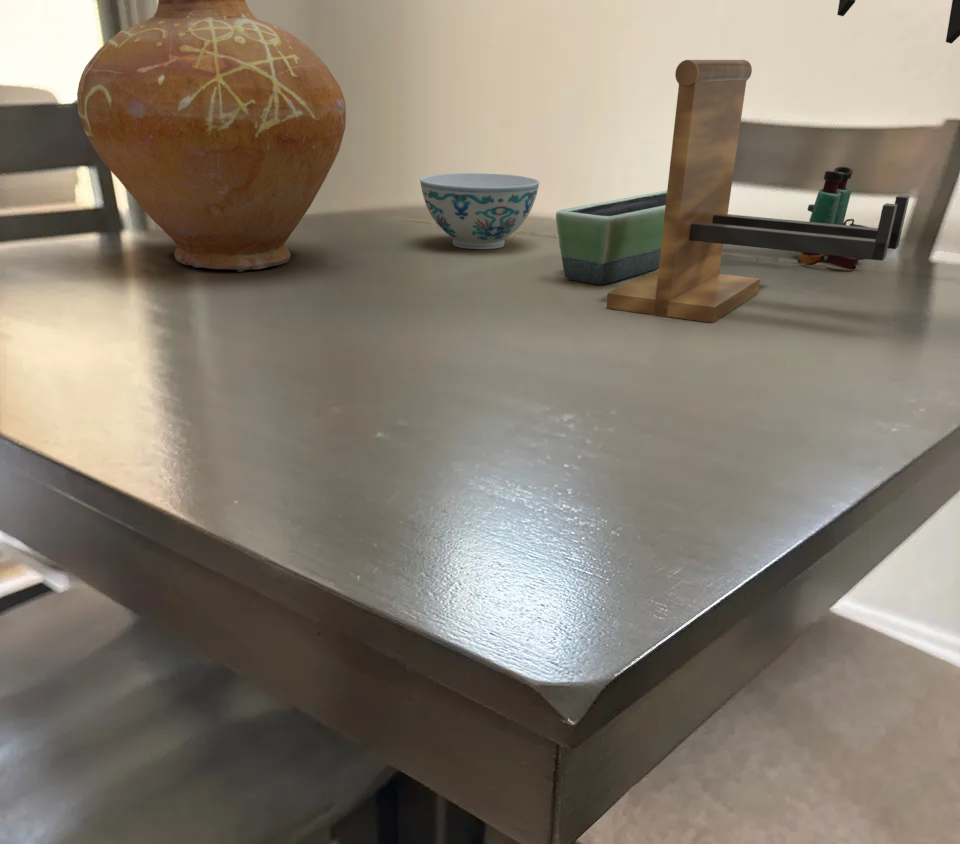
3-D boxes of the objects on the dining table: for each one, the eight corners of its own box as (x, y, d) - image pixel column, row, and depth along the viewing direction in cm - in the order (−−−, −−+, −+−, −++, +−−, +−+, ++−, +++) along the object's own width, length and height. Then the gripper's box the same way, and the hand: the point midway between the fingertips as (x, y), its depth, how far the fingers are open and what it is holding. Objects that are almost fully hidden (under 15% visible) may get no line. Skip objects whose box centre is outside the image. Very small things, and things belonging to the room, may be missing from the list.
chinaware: (538, 256, 120) (542, 188, 116) (417, 254, 120) (416, 185, 116) (533, 236, 133) (536, 174, 129) (424, 234, 133) (423, 171, 129)
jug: (108, 294, 98) (45, -72, 82) (102, 246, 121) (51, -49, 105) (379, 280, 106) (368, -55, 91) (325, 237, 129) (309, -37, 113)
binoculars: (897, 185, 109) (810, 168, 113) (866, 281, 115) (784, 263, 119) (912, 177, 115) (829, 162, 119) (882, 269, 121) (804, 252, 125)
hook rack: (889, 308, 100) (945, 65, 88) (857, 344, 87) (918, 65, 76) (662, 280, 110) (687, 58, 98) (604, 309, 97) (625, 58, 86)
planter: (667, 248, 127) (674, 188, 123) (717, 255, 123) (726, 193, 120) (548, 280, 108) (552, 210, 104) (604, 290, 105) (610, 217, 101)
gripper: (1008, -112, 116) (979, 65, 117) (813, -165, 113) (784, 16, 113) (1053, -161, 109) (1022, 28, 109) (846, -220, 106) (814, -25, 106)
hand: (901, 22), depth 111 cm, fingers open, 13 cm apart
